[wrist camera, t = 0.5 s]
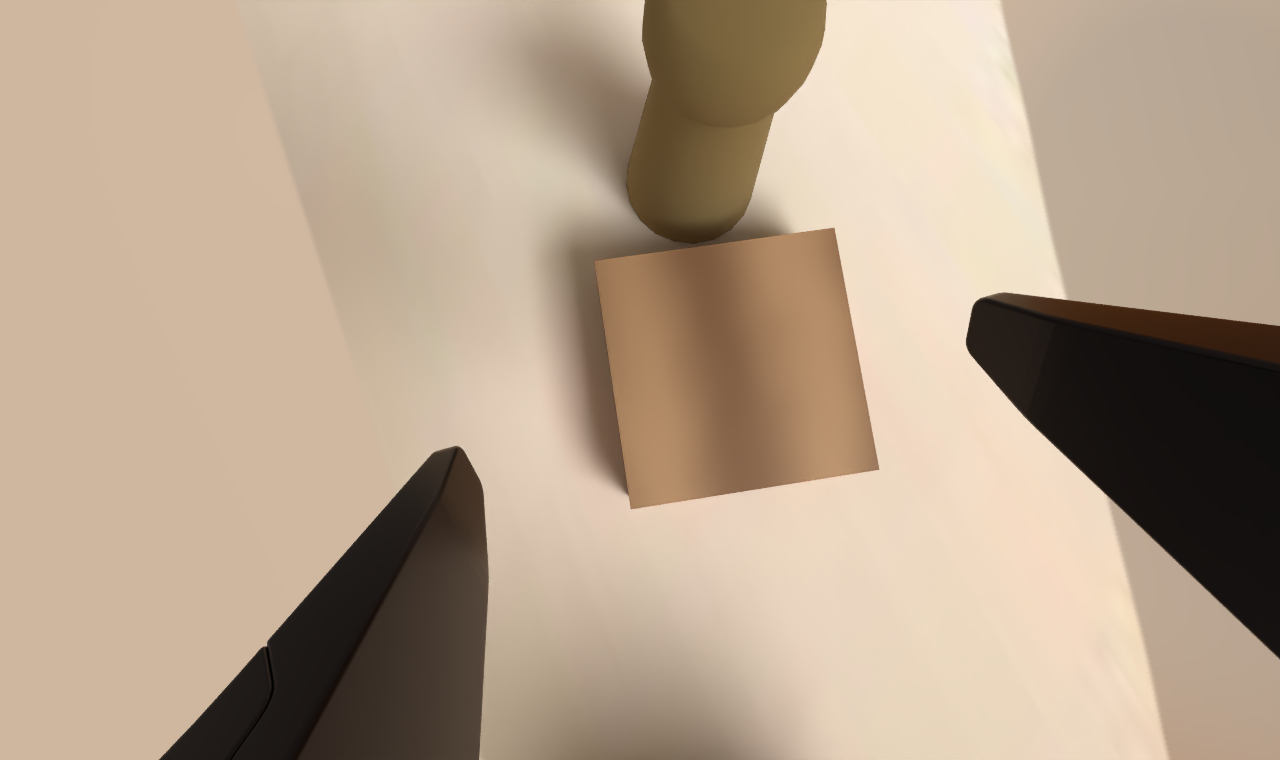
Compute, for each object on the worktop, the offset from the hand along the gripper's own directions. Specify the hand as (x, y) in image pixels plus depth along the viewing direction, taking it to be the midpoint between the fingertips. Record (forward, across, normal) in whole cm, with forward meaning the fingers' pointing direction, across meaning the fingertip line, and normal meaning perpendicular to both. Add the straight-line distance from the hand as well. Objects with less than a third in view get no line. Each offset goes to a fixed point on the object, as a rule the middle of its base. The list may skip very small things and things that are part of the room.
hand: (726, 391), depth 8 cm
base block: (+12, -3, +8) cm, 15 cm away
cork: (+18, -4, +1) cm, 18 cm away
